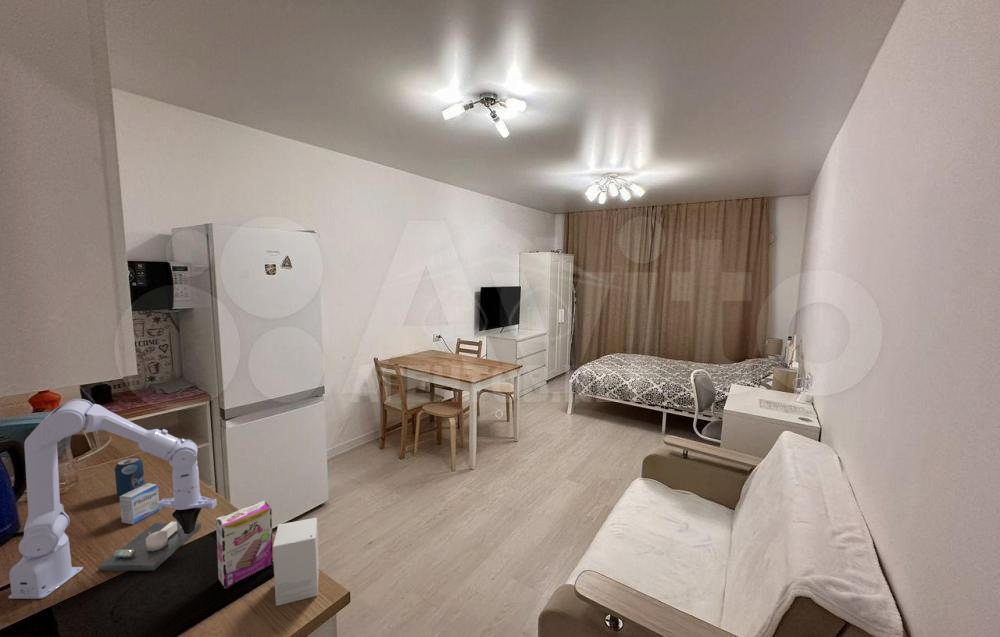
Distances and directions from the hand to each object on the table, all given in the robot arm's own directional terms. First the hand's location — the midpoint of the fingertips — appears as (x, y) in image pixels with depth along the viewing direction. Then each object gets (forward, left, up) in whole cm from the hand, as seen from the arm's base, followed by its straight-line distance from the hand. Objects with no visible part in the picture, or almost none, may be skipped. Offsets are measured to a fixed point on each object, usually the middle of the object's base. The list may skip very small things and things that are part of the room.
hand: (189, 531), depth 113 cm
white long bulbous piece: (-2, +6, -1) cm, 6 cm away
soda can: (+24, +36, -3) cm, 43 cm away
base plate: (-2, +8, -3) cm, 9 cm away
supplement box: (-16, -37, -3) cm, 41 cm away
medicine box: (+12, +23, -3) cm, 26 cm away
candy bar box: (-12, -22, -3) cm, 25 cm away
